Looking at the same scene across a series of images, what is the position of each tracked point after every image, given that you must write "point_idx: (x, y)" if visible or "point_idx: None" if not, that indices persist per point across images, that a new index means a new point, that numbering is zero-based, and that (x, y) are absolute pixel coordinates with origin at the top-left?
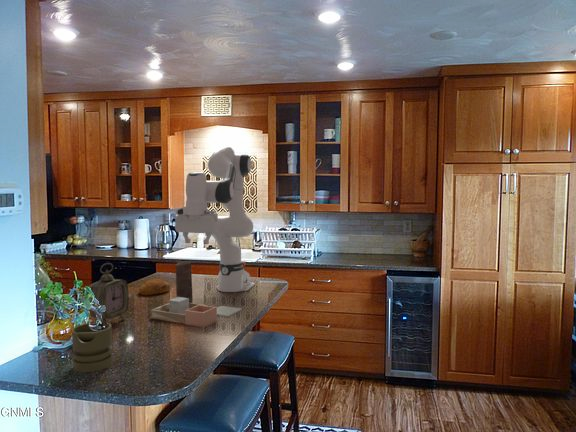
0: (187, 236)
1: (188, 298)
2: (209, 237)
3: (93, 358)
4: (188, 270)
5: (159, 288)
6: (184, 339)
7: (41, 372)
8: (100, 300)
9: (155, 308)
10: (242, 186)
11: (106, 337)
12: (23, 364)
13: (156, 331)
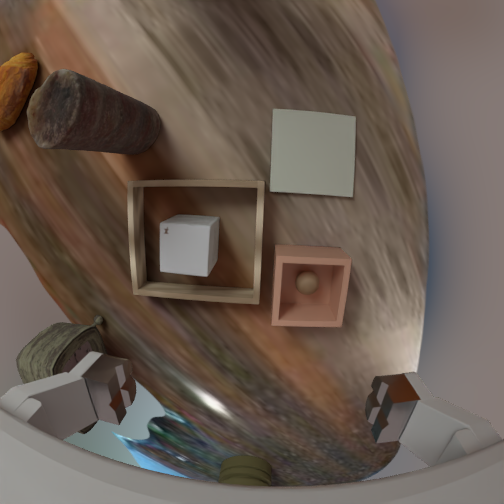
0: (57, 399)
1: (209, 228)
2: (459, 426)
3: None
4: (98, 114)
5: (22, 94)
6: (324, 377)
7: None
8: None
9: (132, 276)
10: None
11: None
12: (162, 472)
13: (230, 360)
